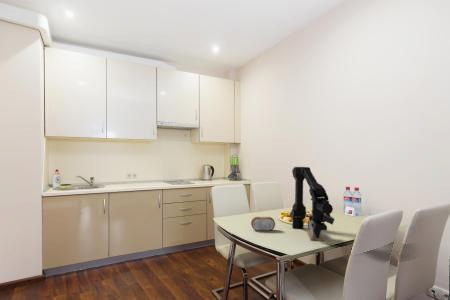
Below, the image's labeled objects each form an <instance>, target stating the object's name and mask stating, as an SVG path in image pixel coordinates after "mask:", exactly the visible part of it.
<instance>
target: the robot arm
mask: <svg viewBox="0 0 450 300" xmlns="http://www.w3.org/2000/svg"><path fill="white" fill-rule="evenodd" d="M291 172H292V177H293V178H294V180H295V181H294V182H295V183H294V184H295V187H294V188H295V191H294V192H295V193H294V195H295V197H294V203H293V205H292V209H291V211H290V213H289V218H290V219H292V222H291V223H292V224H291V227H292V229H299V230H303V229H304V219H306V216H307V207H306V206H305V204H304V180H305V181H306V183H307V185H308V187H309V190H308V191H309V195H310V197H311V198H310V201H312V202H311V215H309V217H308V221H309V222H310V223H311V221H312V222H313V223H311V225H312V228H313V230H314V233H315V235H316V238H319V235H320V234H321V231H328V226H327V224H330V225H334V222H335V218H334V217H333V216H331V213H332V212H333V210H334V209H333V205H332V204H331V203H330V201H329V196H328V194H327V190H326V189H325V187H324V186H323V185H322V184H321V183H319V182H318V181H317V179H316V178H315V176H314V174H313V173H312V170H311V167H308V166H294V167H293V168H292V171H291ZM326 223H327V224H326Z"/></svg>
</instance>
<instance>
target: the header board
mask: <svg viewBox="0 0 450 300" xmlns="http://www.w3.org/2000/svg"><path fill="white" fill-rule="evenodd" d="M310 223H313V222H312V220H311V221H310V220H307V227H305V232H306V233H307V236H308V237H309V240H310V241H312V242H313V241H314V242H324V241H325V240H324V237H323V236H322V233H320V238H313V237H312V235H311V233H310Z"/></svg>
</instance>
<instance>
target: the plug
mask: <svg viewBox="0 0 450 300" xmlns="http://www.w3.org/2000/svg"><path fill="white" fill-rule="evenodd" d="M309 228H310V233H311V235H312V237H313V238H316V235H315V233H314V230H313V228H312V225H311V222H309ZM319 238H320V235H319Z"/></svg>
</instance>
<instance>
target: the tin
mask: <svg viewBox="0 0 450 300" xmlns="http://www.w3.org/2000/svg"><path fill="white" fill-rule="evenodd" d="M250 225H251V227H252V229H253V230H254V231H257V232H258V231H259V232H260V231H261V232H262V231H263V232H264V231H265V232H269V231H272V230H274V229H275V227H276V222H275V220H274V218H273V217H271V216H255V217H253V218H252V219H251V222H250Z"/></svg>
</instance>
